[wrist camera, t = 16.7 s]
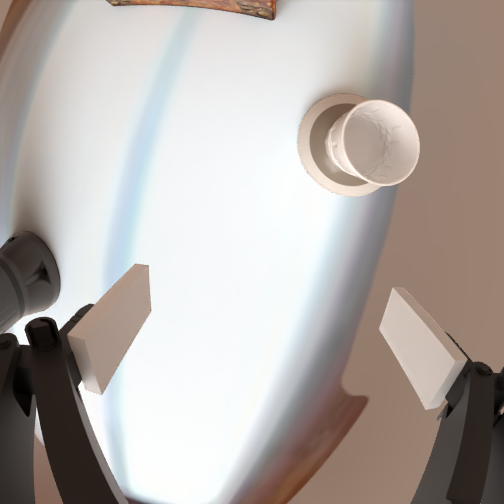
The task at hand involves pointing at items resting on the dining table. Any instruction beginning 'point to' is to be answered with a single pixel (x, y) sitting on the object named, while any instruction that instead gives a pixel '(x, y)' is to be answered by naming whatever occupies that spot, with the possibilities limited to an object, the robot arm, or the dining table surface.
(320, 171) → the beige saucer
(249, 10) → the book
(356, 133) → the white cup
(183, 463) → the dining table surface
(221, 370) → the dining table surface
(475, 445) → the robot arm
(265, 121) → the dining table surface
